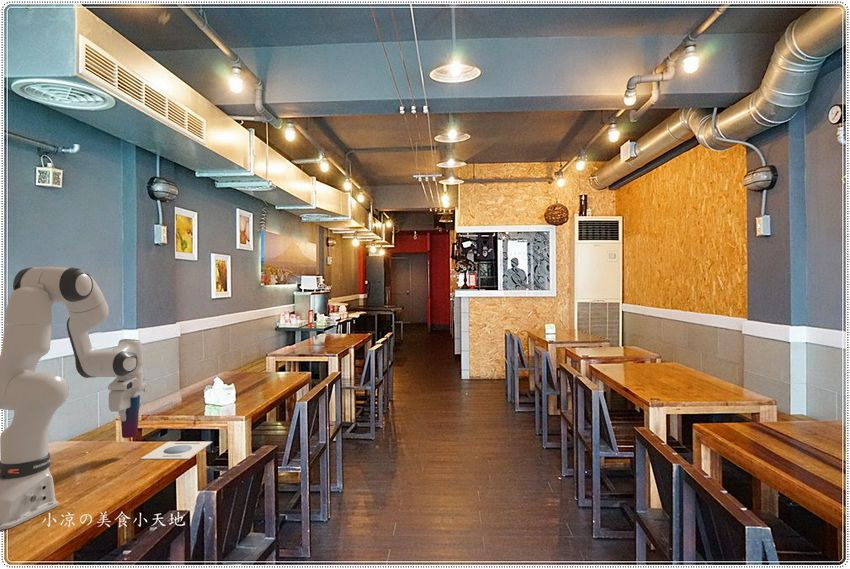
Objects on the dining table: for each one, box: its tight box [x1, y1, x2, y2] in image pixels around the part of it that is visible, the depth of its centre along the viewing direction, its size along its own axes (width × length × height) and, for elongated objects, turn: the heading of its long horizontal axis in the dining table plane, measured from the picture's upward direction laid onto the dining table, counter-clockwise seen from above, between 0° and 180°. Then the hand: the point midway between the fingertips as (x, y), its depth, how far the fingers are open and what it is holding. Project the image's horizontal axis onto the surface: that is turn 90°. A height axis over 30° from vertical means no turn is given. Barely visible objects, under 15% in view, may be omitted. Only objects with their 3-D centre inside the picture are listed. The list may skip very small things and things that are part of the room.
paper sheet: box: [140, 441, 213, 460], centre depth 200 cm, size 20×18×1 cm
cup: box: [120, 395, 140, 439], centre depth 195 cm, size 7×7×15 cm
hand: (129, 418), depth 195 cm, fingers closed on cup, 6 cm apart
